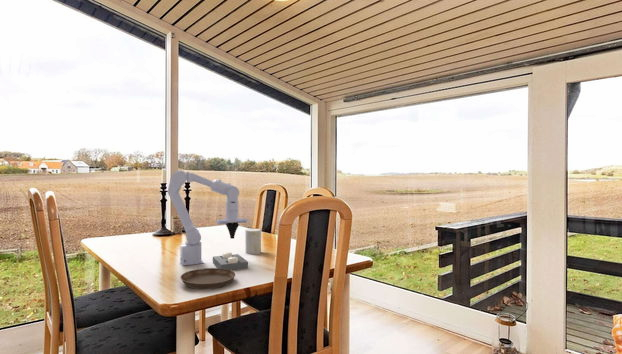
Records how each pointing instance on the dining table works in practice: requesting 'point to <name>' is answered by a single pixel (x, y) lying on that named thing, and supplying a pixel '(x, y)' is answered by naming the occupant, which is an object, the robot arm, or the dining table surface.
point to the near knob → (232, 260)
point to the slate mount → (233, 266)
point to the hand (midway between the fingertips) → (232, 238)
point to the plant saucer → (208, 278)
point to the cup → (253, 241)
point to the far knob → (226, 255)
